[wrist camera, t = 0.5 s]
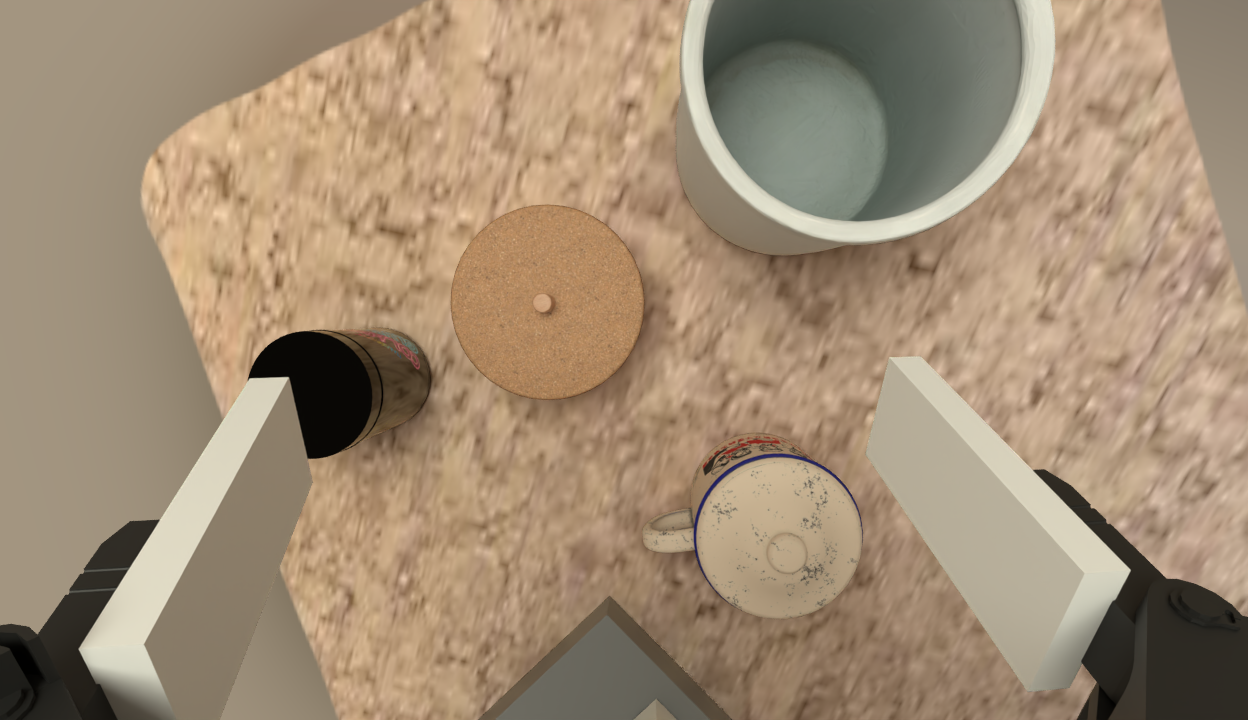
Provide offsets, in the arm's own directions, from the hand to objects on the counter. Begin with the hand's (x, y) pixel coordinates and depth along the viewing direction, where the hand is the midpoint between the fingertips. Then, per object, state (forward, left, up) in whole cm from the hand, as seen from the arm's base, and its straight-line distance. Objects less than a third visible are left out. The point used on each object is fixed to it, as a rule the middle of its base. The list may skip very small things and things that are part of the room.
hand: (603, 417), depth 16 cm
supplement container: (+10, +13, -31) cm, 36 cm away
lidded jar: (+5, +1, -31) cm, 32 cm away
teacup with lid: (-12, +2, -31) cm, 34 cm away
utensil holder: (+2, -16, -31) cm, 35 cm away
